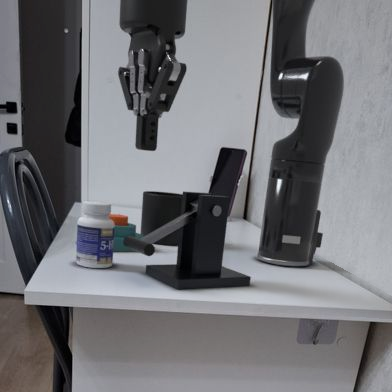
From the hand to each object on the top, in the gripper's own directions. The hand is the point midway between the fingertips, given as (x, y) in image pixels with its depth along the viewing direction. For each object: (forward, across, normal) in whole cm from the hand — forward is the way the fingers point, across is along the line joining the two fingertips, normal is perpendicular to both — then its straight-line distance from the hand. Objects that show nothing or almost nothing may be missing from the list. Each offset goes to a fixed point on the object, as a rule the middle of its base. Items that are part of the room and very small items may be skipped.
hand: (145, 150), depth 67 cm
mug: (+17, +32, -22) cm, 42 cm away
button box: (+17, +25, -8) cm, 31 cm away
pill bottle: (+17, +11, +2) cm, 20 cm away
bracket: (+17, 0, -9) cm, 19 cm away
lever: (+10, 0, -5) cm, 12 cm away
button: (+13, +25, -9) cm, 29 cm away
